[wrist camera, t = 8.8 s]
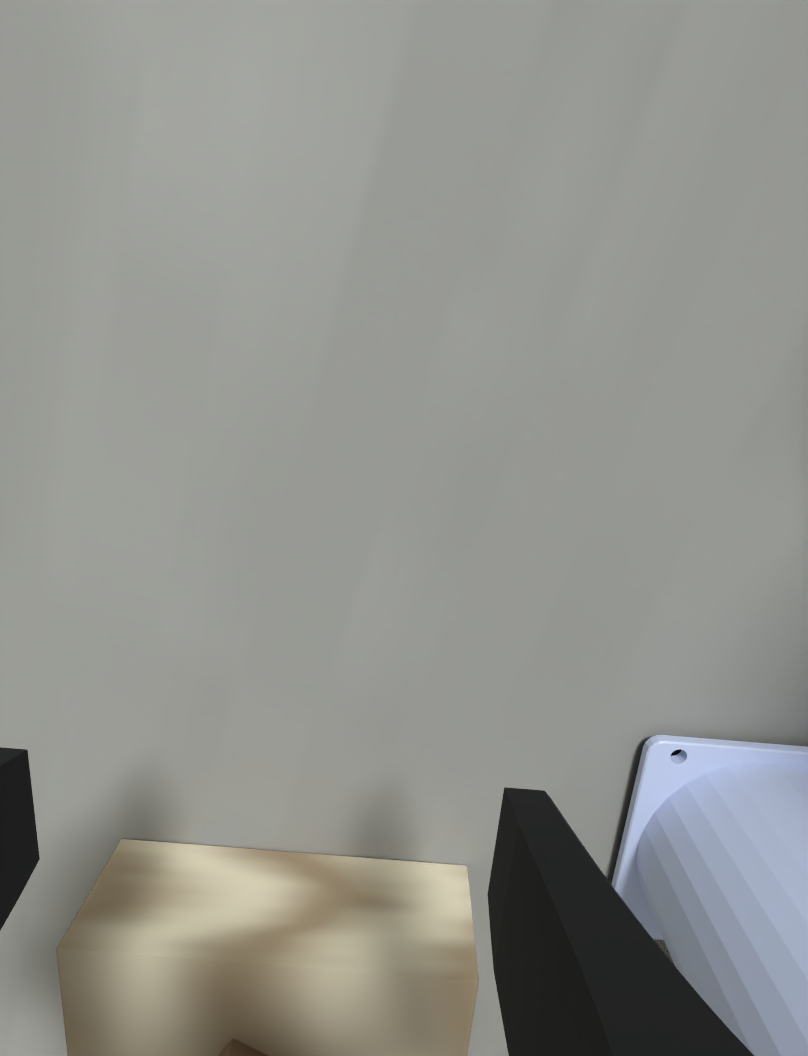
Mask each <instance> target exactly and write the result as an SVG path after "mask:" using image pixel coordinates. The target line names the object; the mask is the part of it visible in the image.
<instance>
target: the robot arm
mask: <svg viewBox="0 0 808 1056" xmlns="http://www.w3.org/2000/svg"><path fill="white" fill-rule="evenodd" d="M680 749H681V752H680V753H679V754H677V755H674V756H671V754H672V752H674V751H675V750H680ZM38 861H39V851H38V841H37V832H36V823H35V814H34V805H33V796H32V787H31V778H30V769H29V760H28V751H27V750H24V749H12V748H0V930H1V928H2V926H3V925H4V923H5V921H6V919H7V918H8V916H9V914H10V913H11V911H12V909H13V907H14V906H15V904H16V902H17V900H18V899H19V897H20V895H21V893H22V891H23V889H24V887H25V885H26V884H27V882H28V880H29V878H30V876H31V874H32V872H33V870H34V869H35V867H36V865H37V863H38ZM488 904H489V917H490V931H491V943H492V954H493V966H494V974H495V980H496V985H497V991H498V997H499V1003H500V1008H501V1014H502V1020H503V1025H504V1031H505V1037H506V1042H507V1048H508V1053H509V1056H808V747H805V746H793V745H780V744H768V743H756V742H743V741H731V740H718V739H706V738H693V737H681V736H669V735H656V736H653V737H651V738H649V739H648V740H647V741H646V742H645V744H644V746H643V749H642V754H641V758H640V762H639V767H638V771H637V775H636V780H635V784H634V788H633V793H632V797H631V801H630V806H629V810H628V815H627V819H626V823H625V828H624V832H623V836H622V841H621V845H620V849H619V854H618V858H617V862H616V867H615V871H614V875H613V880H612V884H610V882H609V881H608V880H607V878H606V877H605V875H604V874H603V873H602V871H601V870H600V869H599V867H598V866H597V864H596V863H595V862H594V860H593V859H592V857H591V856H590V855H589V853H588V852H587V850H586V849H585V847H584V846H583V845H582V843H581V842H580V840H579V839H578V837H577V836H576V835H575V833H574V832H573V830H572V829H571V827H570V826H569V824H568V823H567V821H566V820H565V819H564V817H563V816H562V814H561V813H560V811H559V810H558V808H557V807H556V805H555V804H554V802H553V801H552V799H551V798H550V797H549V796H548V794H547V793H546V792H545V791H541V790H529V789H516V788H504V794H503V800H502V806H501V813H500V819H499V826H498V832H497V838H496V845H495V851H494V857H493V864H492V870H491V877H490V883H489V889H488ZM653 939H657V940H664V941H665V944H666V946H667V949H668V951H669V953H670V956H671V958H672V960H673V963H674V964H673V963H672V962H671V961H670V959H669V958H668V957H667V956H666V955H665V953H664V952H663V951H662V950H661V948H660V947H659V946H658V945H657V943H656V942H655V941H654V940H653Z"/></svg>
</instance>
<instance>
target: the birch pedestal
mask: <svg viewBox="0 0 808 1056" xmlns="http://www.w3.org/2000/svg"><path fill="white" fill-rule="evenodd" d="M56 950H57V959H58V969H59V978H60V987H61V997H62V1006H63V1016H64V1025H65V1034H66V1044H67V1053H68V1056H218V1055H219V1054H220V1053H221V1051H222V1050H223V1049H224V1048H225V1047H226V1046H227V1044H228V1043H229V1042H230V1041H231V1040H232V1039H236V1040H238V1041H240V1042H242V1043H244V1044H246V1045H248V1046H250V1047H252V1048H254V1049H256V1050H258V1051H260V1052H262V1053H264V1054H266V1055H269V1056H467V1052H468V1046H469V1040H470V1033H471V1027H472V1021H473V1015H474V1008H475V1002H476V996H477V989H478V983H479V977H478V967H477V958H476V948H475V939H474V929H473V920H472V910H471V901H470V891H469V881H468V872H467V866H464V865H451V864H438V863H425V862H412V861H399V860H387V859H374V858H361V857H348V856H335V855H322V854H309V853H297V852H284V851H271V850H258V849H245V848H232V847H220V846H207V845H194V844H181V843H168V842H155V841H142V840H130V839H121V840H120V842H119V844H118V845H117V847H116V849H115V851H114V852H113V854H112V856H111V857H110V859H109V861H108V862H107V864H106V866H105V867H104V869H103V871H102V873H101V874H100V876H99V878H98V879H97V881H96V883H95V884H94V886H93V888H92V889H91V891H90V893H89V894H88V896H87V898H86V900H85V901H84V903H83V905H82V906H81V908H80V910H79V911H78V913H77V915H76V916H75V918H74V920H73V922H72V923H71V925H70V927H69V928H68V930H67V932H66V933H65V935H64V937H63V938H62V940H61V942H60V943H59V945H58V947H57V949H56Z"/></svg>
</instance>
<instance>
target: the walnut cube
mask: <svg viewBox="0 0 808 1056" xmlns="http://www.w3.org/2000/svg"><path fill="white" fill-rule="evenodd" d="M218 1056H269V1055H266V1054H264V1053H262V1052H260V1051H258V1050H256V1049H254V1048H252V1047H250V1046H248V1045H246V1044H244V1043H242V1042H240V1041H238V1040H236V1039H232V1040H231V1041H230V1042H229V1043H228V1044H227V1046H226V1047H225V1048H224V1049H223V1050H222V1051H221V1053H220V1054H219V1055H218Z"/></svg>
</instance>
